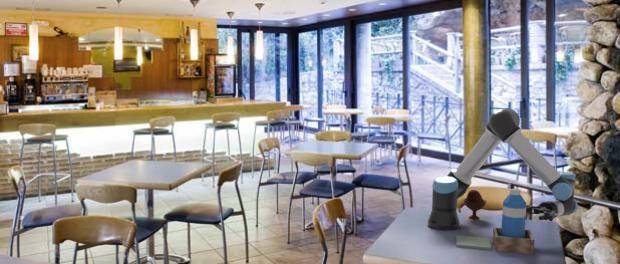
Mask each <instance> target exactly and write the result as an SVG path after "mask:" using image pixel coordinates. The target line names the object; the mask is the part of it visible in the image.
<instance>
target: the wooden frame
mask: <svg viewBox="0 0 620 264" xmlns="http://www.w3.org/2000/svg"><path fill="white" fill-rule="evenodd" d="M501 229H502V227H498V226H497V227H496V226H493V227H492V244H493V247H494V252H506V253H516V254H529V255H534V251H535V239H534V237H533V235H532V233H531V231H530V230H529V229H525V236H524V238H513V237H501Z"/></svg>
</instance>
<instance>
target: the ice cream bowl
mask: <svg viewBox="0 0 620 264" xmlns="http://www.w3.org/2000/svg"><path fill="white" fill-rule="evenodd" d="M463 203H464V206H466V208H468V209H469V210H471V211H472V214H471V215H470V216H468V219H470V220H477V221H478V220H480V217H479V216H478V215H477V211H480V210H482V209H483V208H484V207H485V206H486V204H487V200H486V199H483V196H482V194H481V193H480V191H478V190H476V189H471V190H469V191H468V193H467V194H466V198H464V199H463Z"/></svg>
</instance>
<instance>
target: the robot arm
mask: <svg viewBox="0 0 620 264" xmlns="http://www.w3.org/2000/svg"><path fill="white" fill-rule="evenodd" d="M520 122H521V119H520V116H519V113H518V112H516V111H515V110H514V109H512V108H509V107H504V108H501V109H498V110H495V111H493V113H491V115H490V116H489V120H488V122H487V124H486V125H485V127H484V128H485V132H484V133H483V134H482V135H481V137H480V138H479V139H478V141H476V143H475V144H474V146H473V147H472V148H471V149H470V151H469V152H468V153H467V154H466V156H465V157H464V158H463V160H462V161H461V163H459V165H458V166H457V168H452V169H451V170H450V172H449V173H448V174H447V175H446V176H437V177H436V178H434V179H433V181H432V195H431V202H432V203H431V211H430V214H429V217H428V219H427V226H428V227H429V226H430V228H431V227H432V228H431V229H435V230H439V231H455V230H458V229H460V228H461V227H460V226H461V222H460V219H459V215H458V212H457V209H458V208H457V207H458V200H459V199H460V198H462V197H463V196H464V195H465V194H466V192H467V191H468V189H469V187H470V186H471V185H472V178H473V177H475V175H476V173H477V172H478V171H479V169H480V168H481V167H482V166H483V165H484V164H485V162H486V161H487V159H489V157H490V156H491V155H492V153H493V152H494V151H495V150H496V149H497V148H498V147H499V145H500V143H504V144H508V146H510V148H511V149H512V150H513V151H514V152H515V153H516V154H517V155H518V156H519V157H520V159H522V161H524V163H525V164H526V165H527V167H529V168H530V169H531V170H532V171H533V173H534V174H535V175H536V176H537V177H538V178H539V179H540V181H542V182H543V183H544V184H545V186H546V187H547V188H548V189H549V190H550V191H551V193H552V196H553V197H554V198H555V199H552V200H546V201H542V202H541V203H540V204H539V205H533V204H526V214H527V213H528V214H529V213H530V214H531V215H532V216H531V217H532V218H531V219H532V220H531V222H532V223H535V222H537V223H538V222H541V221H549V222H553V221H554V219H555V218H559V217H562V216H563V217H564V216H569V215H573V214H574V213H577V211H578V209H579V204H578V202H577V200H576V199H575V190H576V189H575V187H576V174H575V173H572V172H565V171H563V172H561V171H560V172H559V171H557V169H556V168H555V167H554V165H552V164H551V162H549V161H548V159H546V157H545V156H544V155H543V154H542V153H541V152H540V151H539V150H538V149H537V148H536V147H535V145H533V144H532V142H531V141H530V140H529V139H528V138H527V137H526V136H525V135H524V134H523V133H522V128H521V126H520Z"/></svg>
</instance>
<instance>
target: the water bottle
mask: <svg viewBox="0 0 620 264" xmlns="http://www.w3.org/2000/svg"><path fill="white" fill-rule="evenodd" d="M526 205H527V202H526V200H524V197H523V196H522V194H521V189H520V188H510V189H509V194H508V195H507V196H506V198H504V200H503V201H502V213H501V214H502V215H501V216H502V217H501V228H502V229H501V237H513V238H524V236H525V230H526V218H527V213H526Z"/></svg>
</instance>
